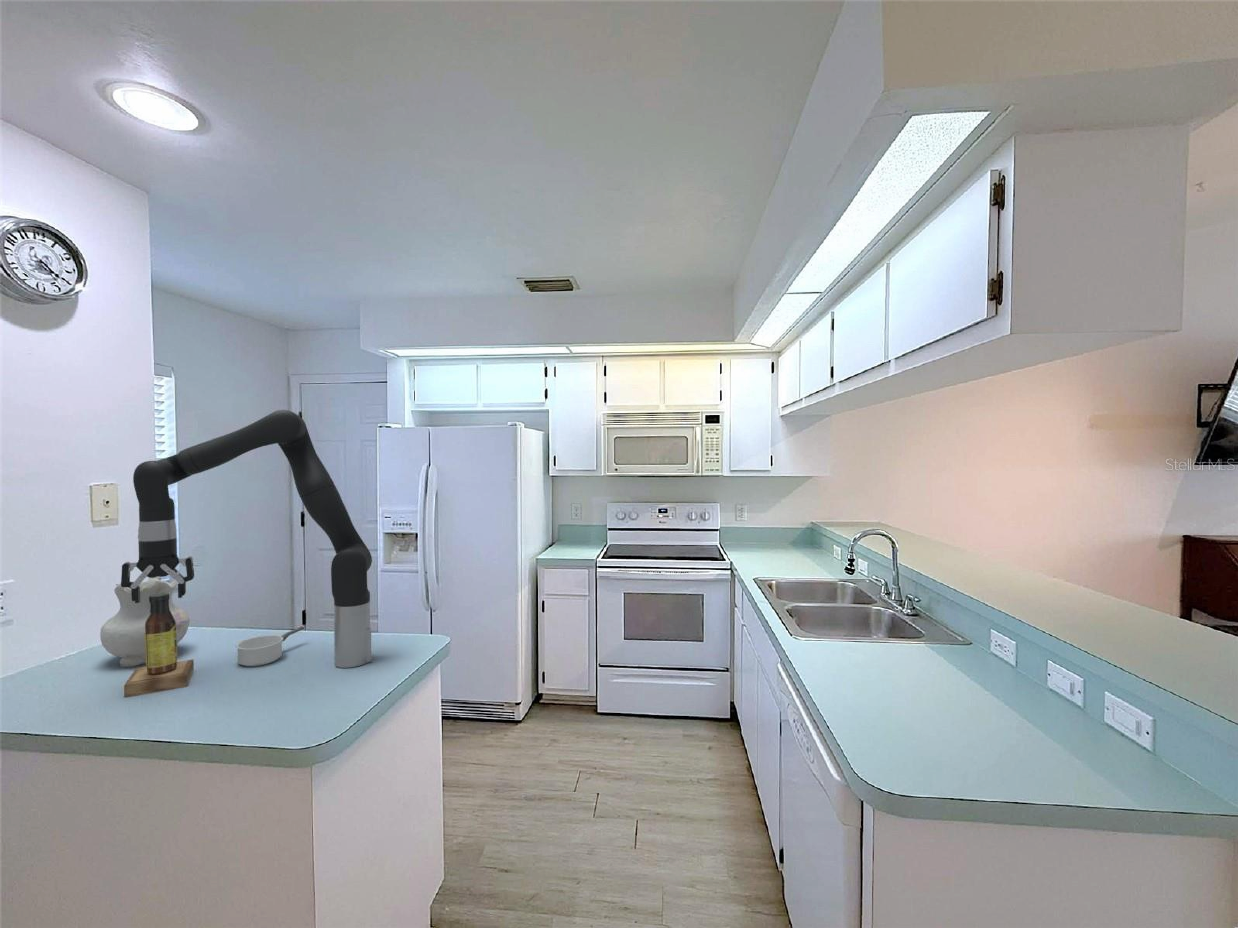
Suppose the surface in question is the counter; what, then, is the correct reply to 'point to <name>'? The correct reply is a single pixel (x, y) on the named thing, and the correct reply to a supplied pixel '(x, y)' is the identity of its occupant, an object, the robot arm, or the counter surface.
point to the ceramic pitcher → (137, 622)
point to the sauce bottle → (160, 636)
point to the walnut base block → (158, 679)
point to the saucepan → (262, 649)
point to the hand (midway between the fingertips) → (159, 599)
